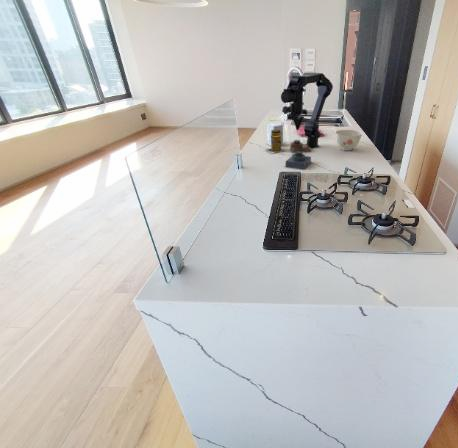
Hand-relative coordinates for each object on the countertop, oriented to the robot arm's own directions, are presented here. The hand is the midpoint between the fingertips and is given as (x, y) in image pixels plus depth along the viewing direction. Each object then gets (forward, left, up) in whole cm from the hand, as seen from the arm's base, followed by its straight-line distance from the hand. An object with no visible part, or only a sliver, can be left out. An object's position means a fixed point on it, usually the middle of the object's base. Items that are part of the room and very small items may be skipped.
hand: (297, 129), depth 166 cm
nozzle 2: (+13, +20, -8) cm, 25 cm away
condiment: (+11, -8, -13) cm, 19 cm away
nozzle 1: (-1, -1, -9) cm, 9 cm away
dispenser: (+13, +20, -13) cm, 27 cm away
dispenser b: (-3, -1, -13) cm, 13 cm away
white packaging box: (+4, -19, -13) cm, 23 cm away
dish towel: (-34, -33, -13) cm, 49 cm away
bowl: (-29, +13, -13) cm, 34 cm away
